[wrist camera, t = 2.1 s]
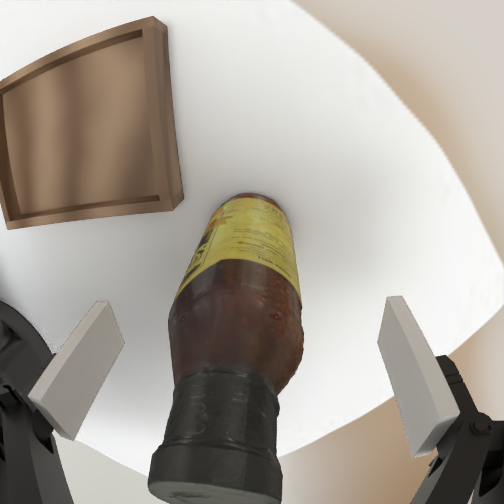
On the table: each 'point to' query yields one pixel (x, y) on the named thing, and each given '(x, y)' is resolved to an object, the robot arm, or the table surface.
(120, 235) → the table surface
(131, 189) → the tray
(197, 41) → the table surface
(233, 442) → the sauce bottle
